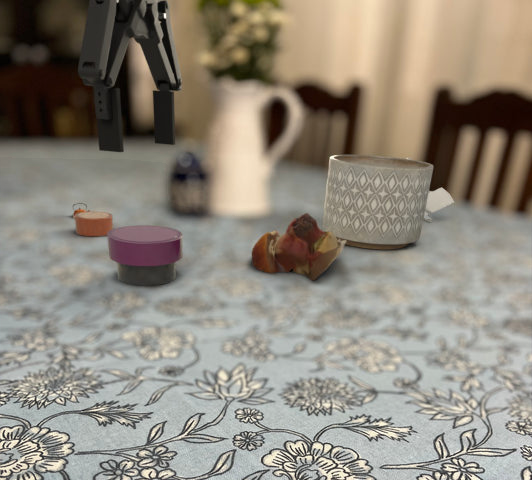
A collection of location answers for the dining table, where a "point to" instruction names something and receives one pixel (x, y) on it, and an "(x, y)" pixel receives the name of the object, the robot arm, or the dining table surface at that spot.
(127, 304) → the dining table surface
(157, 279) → the dark gray disc
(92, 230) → the terracotta dish
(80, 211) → the teapot
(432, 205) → the figurine
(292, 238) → the reddish lumpy part
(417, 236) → the planter
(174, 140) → the robot arm
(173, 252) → the purple disc
